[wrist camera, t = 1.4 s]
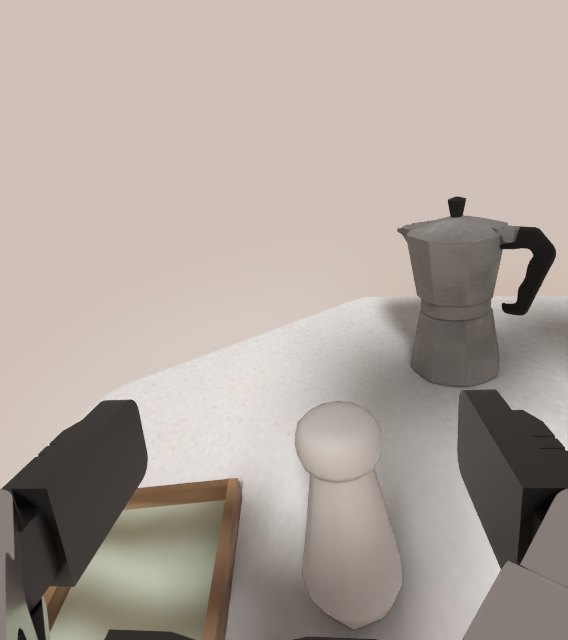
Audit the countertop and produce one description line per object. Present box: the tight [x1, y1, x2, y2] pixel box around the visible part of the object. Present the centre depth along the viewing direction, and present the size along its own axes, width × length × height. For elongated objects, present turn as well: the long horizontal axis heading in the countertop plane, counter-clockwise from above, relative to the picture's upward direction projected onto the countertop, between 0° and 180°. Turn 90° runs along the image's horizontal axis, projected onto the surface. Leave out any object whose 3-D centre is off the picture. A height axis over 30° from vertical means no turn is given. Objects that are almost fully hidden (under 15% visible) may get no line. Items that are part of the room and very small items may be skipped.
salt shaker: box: [295, 401, 403, 630], centre depth 25 cm, size 6×6×13 cm
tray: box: [43, 478, 242, 640], centre depth 27 cm, size 18×11×2 cm, turn 179°
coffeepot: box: [397, 197, 556, 387], centre depth 45 cm, size 15×9×18 cm, turn 41°
